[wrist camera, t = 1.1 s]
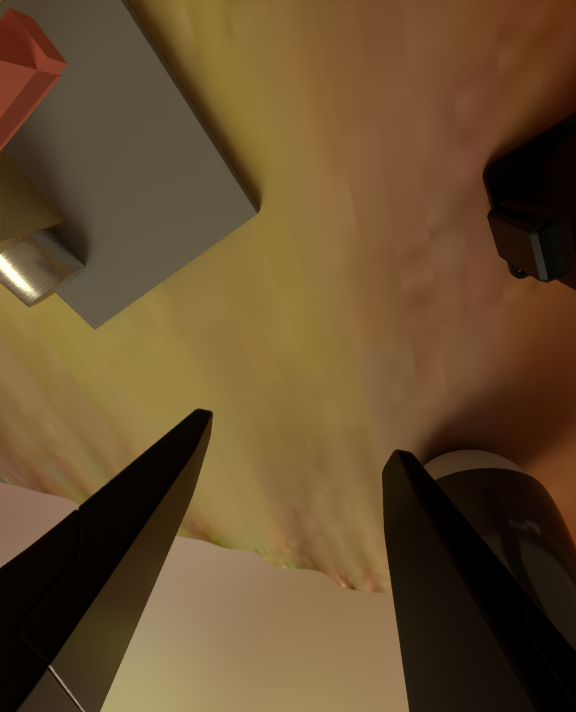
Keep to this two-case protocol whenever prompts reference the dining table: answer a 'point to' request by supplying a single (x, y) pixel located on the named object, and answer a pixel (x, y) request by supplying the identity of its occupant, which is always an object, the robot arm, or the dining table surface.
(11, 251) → the ball valve
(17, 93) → the valve lever
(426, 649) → the robot arm
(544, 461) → the dining table surface
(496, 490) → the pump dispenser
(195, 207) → the mounting board
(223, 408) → the dining table surface
